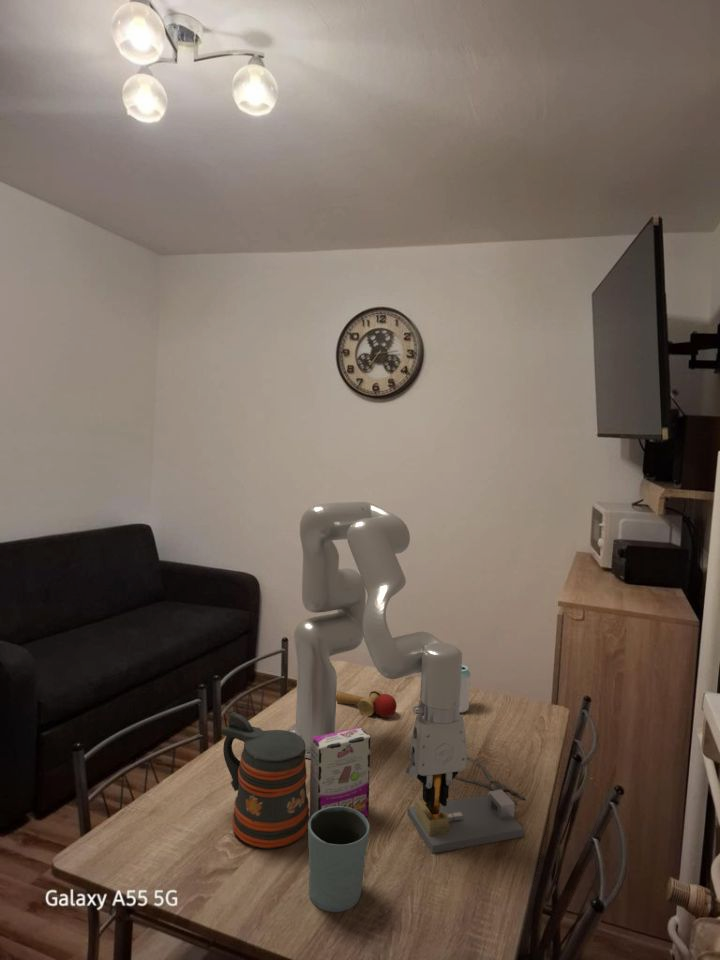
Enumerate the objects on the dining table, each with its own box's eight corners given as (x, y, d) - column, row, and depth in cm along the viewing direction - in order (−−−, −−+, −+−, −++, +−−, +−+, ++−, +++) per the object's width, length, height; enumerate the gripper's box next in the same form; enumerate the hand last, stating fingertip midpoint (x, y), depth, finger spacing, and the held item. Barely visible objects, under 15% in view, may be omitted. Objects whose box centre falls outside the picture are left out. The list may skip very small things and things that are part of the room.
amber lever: (431, 826, 120) (434, 775, 119) (427, 819, 122) (429, 769, 121) (463, 820, 122) (466, 770, 121) (459, 814, 124) (461, 765, 123)
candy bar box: (357, 802, 129) (360, 725, 128) (369, 816, 125) (372, 736, 124) (307, 816, 124) (309, 736, 123) (317, 830, 120) (320, 747, 118)
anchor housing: (500, 820, 123) (501, 805, 122) (487, 805, 127) (488, 791, 127) (513, 818, 123) (514, 803, 123) (500, 803, 128) (501, 789, 128)
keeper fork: (429, 836, 117) (429, 820, 117) (415, 814, 123) (415, 800, 123) (448, 832, 118) (449, 817, 118) (433, 811, 125) (434, 797, 124)
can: (453, 701, 180) (455, 660, 179) (473, 709, 175) (475, 667, 174) (437, 707, 176) (439, 666, 175) (457, 717, 170) (459, 673, 169)
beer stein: (197, 830, 119) (199, 727, 117) (240, 790, 132) (242, 698, 131) (285, 859, 112) (289, 750, 110) (321, 814, 125) (325, 716, 124)
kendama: (330, 712, 173) (387, 721, 164) (330, 689, 174) (387, 696, 165) (345, 708, 180) (401, 716, 170) (345, 685, 181) (401, 691, 171)
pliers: (459, 752, 150) (538, 785, 138) (459, 756, 150) (538, 788, 138) (437, 768, 143) (518, 804, 130) (436, 772, 143) (518, 808, 130)
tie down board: (432, 853, 114) (432, 845, 114) (407, 814, 126) (407, 807, 126) (523, 836, 120) (523, 829, 120) (491, 800, 132) (492, 794, 132)
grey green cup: (318, 866, 110) (320, 800, 109) (374, 880, 107) (376, 812, 106) (296, 907, 100) (298, 835, 99) (356, 924, 97) (359, 850, 96)
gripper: (408, 723, 113) (403, 821, 115) (486, 714, 118) (481, 808, 120) (393, 706, 120) (389, 798, 122) (467, 698, 125) (463, 786, 127)
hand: (435, 802), depth 121 cm, fingers closed on amber lever, 2 cm apart
